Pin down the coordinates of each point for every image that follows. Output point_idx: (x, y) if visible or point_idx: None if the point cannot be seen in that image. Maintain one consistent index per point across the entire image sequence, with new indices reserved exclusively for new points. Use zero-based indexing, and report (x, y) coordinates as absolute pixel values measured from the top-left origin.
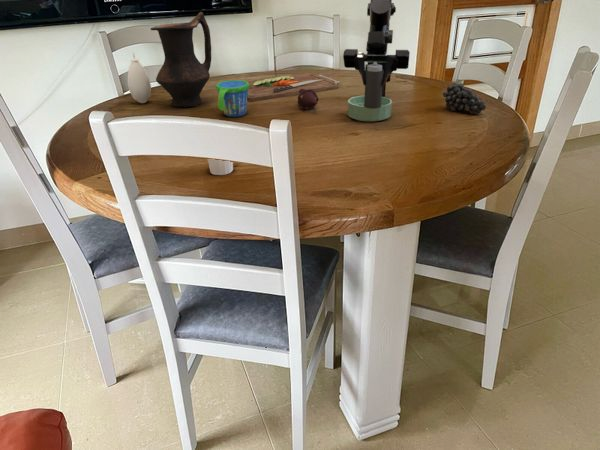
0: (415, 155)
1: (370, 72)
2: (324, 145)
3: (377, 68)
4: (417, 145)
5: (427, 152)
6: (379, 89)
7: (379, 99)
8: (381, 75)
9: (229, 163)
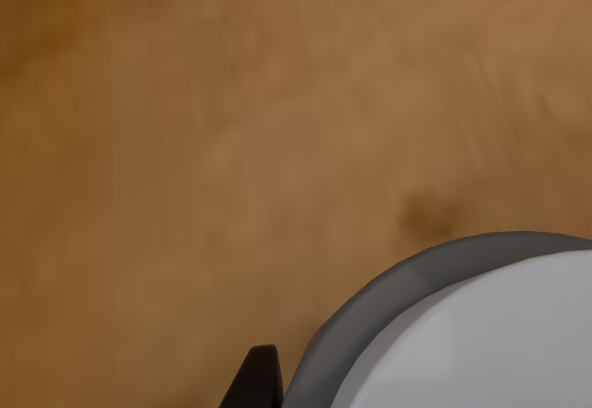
0: (75, 13)
1: (586, 241)
2: (525, 19)
3: (439, 300)
4: (62, 137)
5: (19, 60)
6: (315, 334)
7: (309, 342)
8: (297, 368)
9: None
